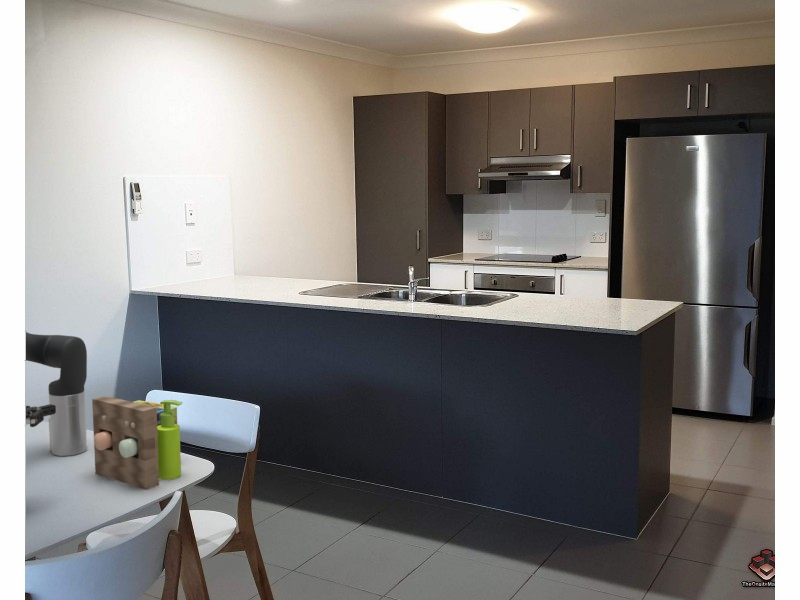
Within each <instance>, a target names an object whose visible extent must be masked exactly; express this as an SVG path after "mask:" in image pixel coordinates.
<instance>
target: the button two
mask: <svg viewBox="0 0 800 600" xmlns="http://www.w3.org/2000/svg"><path fill="white" fill-rule="evenodd" d="M119 451H120V453H121V455H122V456H123V457H124V458H128V457H131V456H134V455H137V454H138V439H136V438H133V437H132V438H129V439H126V440H122V441H121V442H120V444H119Z"/></svg>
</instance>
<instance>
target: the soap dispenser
mask: <svg viewBox="0 0 800 600" xmlns="http://www.w3.org/2000/svg"><path fill="white" fill-rule="evenodd" d="M159 404H162V405H164V412H163V413H161V425H159V426H157V438H158V468H159V480H164V481H165V480H174V478H175V479H177V477H178V478H180V477H181V476H182V467H181V466H182V464H181V463H182V462H181V433H180V432H181V431H180V429H181V428H180V425H179V424H178V423H177V424H175V423H174V413H173V412H171V406H172V405H173V406H176V407H179V406H181V405H183V401H179V400H173V399H165V400H162V401H160V402H159ZM180 475H181V476H180ZM179 476H180V477H179Z"/></svg>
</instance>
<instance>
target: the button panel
mask: <svg viewBox="0 0 800 600" xmlns="http://www.w3.org/2000/svg"><path fill="white" fill-rule="evenodd" d="M91 400H92V424H93V428H92V429H93V437H94V436H95V435H96V434H97V433H101V432H104V431H111V432H112V442H113V447H111V448H107V449H104V450H98V449H97V448H96V446H95V444H94V443H93V445H94V446H93V449H94V471H95V475H99V476H102V477H105V478H108V479H112V480H114V481H118V482H121V483H124V484H127V485H130V486H133V487H137V488H140V489H143V490H149V489H151V488H154V487H156V486H159V485H160V479H159V468H158V438H157V407H152V406H148V405H143V404H139V403H135V402H134V401H130V400H126V399H120V398H116V397H111V396H108V395H103V396H98V397H94V398H92V399H91ZM132 437H133V438H136V439H138V454H137V455H134V456H131V457H128V458H124V457H123V456H122V455H121V453H120V451H119V444H120V442H121V441H122V440H126V439H129V438H132Z"/></svg>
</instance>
